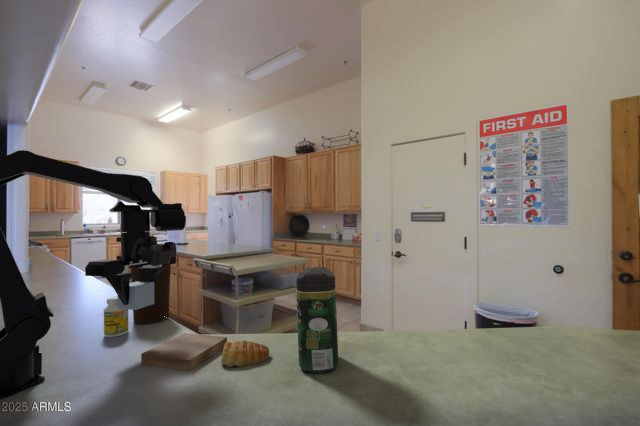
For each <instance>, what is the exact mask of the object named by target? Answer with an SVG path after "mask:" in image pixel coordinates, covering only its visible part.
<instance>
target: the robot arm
mask: <svg viewBox="0 0 640 426" xmlns="http://www.w3.org/2000/svg"><path fill="white" fill-rule="evenodd" d="M26 175H28V176H33V177H37V178H42V179H45V180H51V181H55V182H60V183H64V184H68V185H73V186H78V187H82V188H86V189H91V190H96V191H99V192H101V193H103V194H106V195H108V196H110V197H112V198H114V199H117V200H119V201H117V202H116V204H115V205H114V206H113V207H111V208H110V209H109V210H108V211H109V213H120V237H119V236H118V237H116V239H115V240H116V241H115V242H116V243H120V255H116V259H99V260H93V261H89V262H88V263H87V264H86V266H85V267H84V268H85V269H84V275H85V277H88V276H89V277H101V278H104V279H105V280H107V282H108V283H109V284H110V285H111V287H112V288H113V290H114V292H115V293H116V295H117V296H118V297H119V298H120V300H121V302H122V303H123V305H128V303H129V283H130V282H131V281H130V280H131V277H132V276H133V274H134V273H131V272H129V271H130V269H131V268H134V267H139V266H143V267H142V268H138V270H139V276H140V282H155V280H156V278H157V276H158V274H159V273H160V272H161V271H162V270H164V269H166V267H162V264H166V265H170V266H171V265H175V264H177V244H176V242H173V241H165V242H164V243H158V242H157V243H156V241H155V237H156V236H155V235H151V227H152V228H155V231H157V232H169V231H170V232H172V231H173V232H174V231H175V232H176V231H184V229H185V227H186V224H187V216H186V213H185V211H184V209H183V204H182V203H180V202H174V203H164V202H163V201H161V199H160V198H159V197H158V195H157V194H156V193H155V191H154V190H153V185H152V183H151V182H150V180H149V179H148V178H147V177H144V176H142V175H134V174H127V173H112V172H104V171H100V170H96V169H92V168H89V167H85V166H82V165H77V164H73V163H70V162H67V161H63V160H59V159H55V158H52V157H48V156H44V155H40V154H36V153H35V152H34V153H33V152H32V151H31V150H25V149H22V150H16V151H14V152H12V153H9V154H7V155H4V156H3V155H2V156H0V187H1V186H4V185H5V184H8V183H10V182H12V181H16V180H17V179H19V178H22V177H24V176H26ZM124 202H125V203H124ZM126 203H129V204H126ZM148 208H149V209H148ZM139 260H142V261H139ZM0 306H1V313H2V319H3V325H4V327H3V328H1V330H0V399H3V398H6V397H7V396H10V395H12V394H14V393H15V394H16V393H17V392H19V391H21V390H24V389H26V388H29V387H31V386H34V385H36V384H38V383H41V382H43V381H45V380H46V377H45V376H42V373H43V352H41V351H40V345H39V344H38V345H37V342H38V341H40V340H41V339H43V338H44V337H45V336H46V335H47V334H48V332H49V331H50V329H51V327H52V322H51V321H52V320H51V318H53V317H54V316H55V315H54V312H53V311H52V309H51V308H50V307H49V306H48V304H47V299H46V295H45V294H44V292H43V291H41V292H39V293H38V294H35V295H34V293H33V292H32V291H31V290H30V288H29V287H28V286H27V284H26V282H25V279H24V277H23V275H22V273H21V270H20V268H19V266H18V264H17V262H16V259H15V257H14V255H13V252H12V250H11V248H10V246H9V244H8V241H7V239H6V237H5V234H4V232H3V231H2V228H1V227H0Z"/></svg>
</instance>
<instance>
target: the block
mask: <svg viewBox="0 0 640 426" xmlns="http://www.w3.org/2000/svg"><path fill="white" fill-rule="evenodd" d="M152 304H154V282H133V283H131V282H129V303H128V305H123V303H122V302H121V300H120V298H119V297H118V309H128V311H129V310H131V311H133V310H137V309H140V308H143V307H146V306H149V305H152Z"/></svg>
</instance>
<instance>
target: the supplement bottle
mask: <svg viewBox="0 0 640 426" xmlns="http://www.w3.org/2000/svg"><path fill="white" fill-rule="evenodd" d="M106 304H107V306H105V307H104V308H103V335H104V337H105V338H116V337H120V336H121V337H122V336H124V335H126V334H127V333H128V332H129V310H128V309H118V295H117V296H116V295H115V296H111V297H107V298H106Z"/></svg>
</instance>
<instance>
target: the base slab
mask: <svg viewBox="0 0 640 426" xmlns="http://www.w3.org/2000/svg"><path fill="white" fill-rule="evenodd" d="M198 334H199V333H198ZM198 334H197V333H186V332H184V333H182V334H179V335H177V336H175V337H173V338H171V339H169V340H166V341H164V342H163V343H160V344H159V345H157V346H154V347H152V348H151V349H148V350H146V351H144V352H142V353H141V354H140V355H141V356H140V357H141V358H140V359H141V360H140V362H141V363H140V364H141V365H148V366H155V367H162V368H169V369H175V370H181V371H182V370H183V371H189V372H190V371H191V370H193V369H194V368H196V367H198V366H199V365H200V364H202V363H203V362H205V361H206V360H209V359H210V358H211V357H214V355H216V354H217V353H219V352H220V351H221V349H222V350H223V349H224V345H225V343H226V342H228V337H227V336H217V335H207V334H199V335H198ZM218 351H219V352H218ZM215 353H216V354H215Z"/></svg>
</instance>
